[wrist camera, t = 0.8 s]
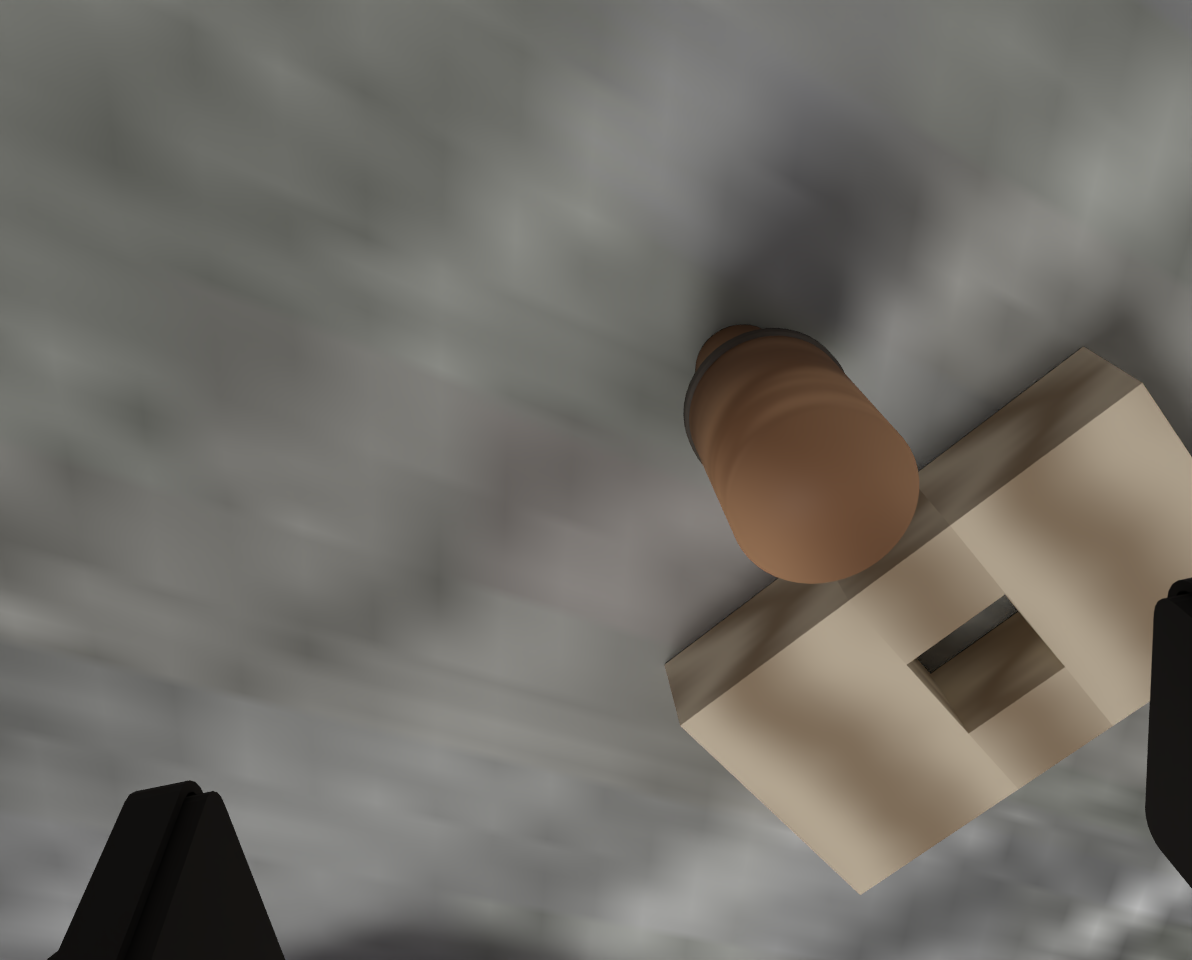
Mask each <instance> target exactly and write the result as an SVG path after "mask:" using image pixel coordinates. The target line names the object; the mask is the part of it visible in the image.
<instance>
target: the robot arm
mask: <svg viewBox="0 0 1192 960" xmlns="http://www.w3.org/2000/svg"><path fill="white" fill-rule="evenodd" d="M1145 812H1146V819H1147V823H1148V827H1149V829H1150V832H1151V835H1152V837H1153V839H1154V841H1155V843H1156V844H1157V846H1158V847H1159V849H1160V850H1161V851H1162V852H1163V854H1164V855H1165V856H1166V857H1167V859H1168V860H1169V861H1170V862H1171V864H1172V865H1173V866H1174V867H1175V868H1176V870H1177V871H1178V872H1179V873H1180V875H1181V876H1182V877H1183V878H1184V879H1185V881H1186V882H1187V883H1188V884H1189V886H1190V887H1191V888H1192V577H1191V578H1187V579H1182V580H1178V581H1176V582H1174V583H1173V584H1172V585H1171V587H1170V589H1169V591H1168V596H1167V598H1162V599H1161V600H1159V601H1158V602H1157V604H1156V605H1155V609H1154V617H1153V640H1152V664H1151V687H1150V710H1149V733H1148V756H1147V779H1146V802H1145ZM47 960H285V958H284V955H283V953H282V950H281V948H280V945H279V942H278V940H277V937H276V935H275V932H274V930H273V927H272V925H271V922H270V919H269V917H268V914H267V912H266V909H265V907H264V904H263V901H262V899H261V896H260V894H259V891H258V889H257V886H256V884H255V881H254V878H253V876H252V873H251V871H250V868H249V866H248V863H247V860H246V858H245V855H244V853H243V850H242V848H241V845H240V843H239V840H238V837H237V835H236V832H235V830H234V827H233V825H232V822H231V819H230V817H229V814H228V812H227V809H226V807H225V804H224V802H223V800H222V798H221V796H220V795H219V794H218V793H217V792H214V791H211V792H206V793H203V792H202V790H201V788H200V786H199V785H198V784H197V783H196V782H194V781H190V780H189V781H185V782H180V783H175V784H170V785H165V786H160V787H155V788H150V789H145V790H140V791H135V792H133V793H132V794H130V795H129V796H128V798H127V799H126V801H125V803H124V805H123V807H122V809H121V812H120V814H119V816H118V818H117V821H116V823H115V825H114V827H113V830H112V832H111V834H110V836H109V838H108V841H107V843H106V845H105V847H104V850H103V852H102V854H101V856H100V859H99V861H98V863H97V865H96V868H95V870H94V872H93V874H92V876H91V879H90V881H89V883H88V885H87V888H86V890H85V892H84V894H83V897H82V899H81V901H80V903H79V906H78V908H77V910H76V912H75V915H74V917H73V919H72V921H71V923H70V926H69V928H68V930H67V932H66V935H65V937H64V939H63V941H62V944H61V946H60V948H59V950H58V951H57V952H56V953H55V954H53V955H52V956H51V957H49V958H48V959H47Z"/></svg>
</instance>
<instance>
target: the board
mask: <svg viewBox="0 0 1192 960" xmlns="http://www.w3.org/2000/svg"><path fill="white" fill-rule="evenodd" d="M918 474H919V496H918V503H917V506H916V510H915V513H914V516H913V518H912V520H911V522H910V525H909V526H908V528H907V530H906V531H905V533H904V535H903V536H902V537H901V539H900V540H899V541H898V543H897V544H896V545H895V546H894V547H893V548H892V549H891V550H890V551H889V553H888V554H886V555H885V556H884V557H883V558H882V559H880V560H879V561H878V562H876V563H875V564H873V565H872V566H870V567H869V568H867V569H865V570H863V571H861V572H859V573H858V574H855V575H853V576H850V577H848V578H845V579H841V580H837V581H834V582H827V583H817V584H806V583H796V582H792V581H787V580H784V579H781V578H778V579H777V580H775V581H774V582H773V583H771V584H770V585H769V586H767V587H766V588H765V589H764V590H762V591H761V592H760V593H758V594H757V595H756V596H754V597H753V598H752V599H750V600H749V601H748V602H746V603H745V604H744V605H742V606H741V607H740V608H739V609H737V610H736V611H735V612H733V613H732V614H731V615H729V616H728V617H727V618H725V619H724V620H723V621H721V622H720V623H719V624H717V625H716V626H715V627H714V628H712V629H711V630H710V631H708V632H707V633H706V634H704V635H703V636H702V637H700V638H699V639H698V640H696V641H695V642H694V643H692V644H691V645H690V646H688V647H687V648H686V649H685V650H683V651H682V652H681V653H679V654H678V655H677V656H675V657H674V658H673V659H671V660H670V661H669V662H667V663H666V664H665V668H666V672H667V676H668V680H669V684H670V688H671V692H672V695H673V699H674V703H675V707H676V711H677V715H678V719H679V723H680V726H681V727H682V728H683V729H684V730H685V731H686V732H688V733H689V734H690V735H691V736H692V737H693V738H694V739H695V740H696V741H697V742H698V743H699V744H700V745H701V746H702V747H704V748H705V749H706V750H707V751H708V752H709V753H710V754H711V755H712V756H713V757H714V758H715V759H716V760H717V761H718V762H719V763H721V764H722V765H723V766H724V767H725V768H726V769H727V770H728V771H729V772H730V773H731V774H732V775H733V776H734V777H735V778H736V779H738V780H739V781H740V782H741V783H742V784H743V785H744V786H745V787H746V788H747V789H748V790H749V791H750V792H751V793H752V794H753V795H755V796H756V797H757V798H758V799H759V800H760V801H761V802H762V803H763V804H764V805H765V806H766V807H767V808H768V809H769V810H770V811H772V812H773V813H774V814H775V815H776V816H777V817H778V818H779V819H780V820H781V821H782V822H783V823H784V824H785V825H786V826H788V827H789V828H790V829H791V830H792V831H793V832H794V833H795V834H796V835H797V836H798V837H799V838H800V839H801V840H802V841H803V842H805V843H806V844H807V845H808V846H809V847H810V848H811V849H812V850H813V851H814V852H815V853H816V854H817V855H818V856H819V857H820V858H822V859H823V860H824V861H825V862H826V863H827V864H828V865H829V866H830V867H831V868H832V869H833V870H834V871H835V872H836V873H837V874H839V875H840V876H841V877H842V878H843V879H844V880H845V881H846V882H847V883H848V884H849V885H850V886H851V887H852V888H853V889H855V890H856V891H857V892H858V893H859V894H860V895H861V894H863V893H864V892H866V891H867V890H869V889H870V888H872V887H873V886H875V885H876V884H877V883H879V882H880V881H882V880H883V879H885V878H886V877H888V876H889V875H891V874H892V873H894V872H895V871H897V870H898V869H900V868H901V867H903V866H904V865H906V864H907V863H909V862H910V861H912V860H913V859H915V858H916V857H918V856H919V855H921V854H922V853H924V852H925V851H927V850H928V849H930V848H931V847H933V846H934V845H936V844H937V843H939V842H940V841H942V840H943V839H945V838H946V837H948V836H949V835H951V834H952V833H954V832H955V831H957V830H958V829H960V828H961V827H963V826H964V825H966V824H967V823H969V822H970V821H972V820H973V819H975V818H976V817H978V816H979V815H981V814H982V813H984V812H985V811H987V810H988V809H990V808H991V807H992V806H994V805H995V804H997V803H998V802H1000V801H1001V800H1003V799H1004V798H1006V797H1007V796H1009V795H1010V794H1012V793H1013V792H1015V791H1016V790H1018V789H1019V788H1021V787H1022V786H1024V785H1025V784H1027V783H1028V782H1030V781H1031V780H1033V779H1034V778H1036V777H1037V776H1039V775H1040V774H1042V773H1043V772H1045V771H1046V770H1048V769H1049V768H1051V767H1052V766H1054V765H1055V764H1057V763H1058V762H1060V761H1061V760H1063V759H1064V758H1066V757H1067V756H1069V755H1070V754H1072V753H1073V752H1075V751H1076V750H1078V749H1079V748H1081V747H1082V746H1084V745H1085V744H1087V743H1088V742H1090V741H1091V740H1093V739H1094V738H1096V737H1097V736H1099V735H1100V734H1102V733H1103V732H1105V731H1106V730H1107V729H1109V728H1110V727H1112V726H1113V725H1115V724H1116V723H1118V722H1119V721H1121V720H1122V719H1124V718H1125V717H1127V716H1128V715H1130V714H1131V713H1133V712H1134V711H1136V710H1137V709H1139V708H1140V707H1142V706H1143V705H1145V704H1146V703H1148V702H1149V701H1150V687H1151V664H1152V640H1153V617H1154V609H1155V605H1156V604H1157V602H1158V601H1159V600H1161V599H1162V598H1167V596H1168V591H1169V589H1170V587H1171V585H1172V584H1173V583H1174V582H1176V581H1178V580H1182V579H1187V578H1191V577H1192V457H1191V455H1190V454H1189V452H1188V451H1187V449H1186V448H1185V446H1184V445H1183V443H1182V442H1181V440H1180V439H1179V437H1178V436H1177V434H1176V433H1175V431H1174V430H1173V428H1172V427H1171V425H1170V424H1169V422H1168V421H1167V419H1166V418H1165V416H1164V415H1163V413H1162V412H1161V410H1160V409H1159V407H1158V406H1157V404H1156V403H1155V401H1154V400H1153V398H1152V397H1151V395H1150V394H1149V392H1148V390H1147V389H1146V387H1145V386H1144V384H1143V383H1142V382H1140V381H1139V380H1137V379H1135V378H1134V377H1132V376H1130V375H1129V374H1127V373H1126V372H1124V371H1122V370H1121V369H1119V368H1118V367H1116V366H1114V365H1113V364H1111V363H1109V362H1108V361H1106V360H1105V359H1103V358H1101V357H1100V356H1098V355H1097V354H1095V353H1093V352H1092V351H1090V350H1088V349H1087V348H1085V347H1084V346H1083V347H1082V348H1081V349H1079V350H1078V351H1077V352H1075V353H1074V354H1073V355H1072V356H1070V357H1069V358H1068V359H1066V360H1065V361H1064V362H1062V363H1061V364H1060V365H1058V366H1057V367H1056V368H1054V369H1053V370H1052V371H1050V372H1049V373H1048V374H1047V375H1045V376H1044V377H1043V378H1041V379H1040V380H1039V381H1037V382H1036V383H1035V384H1033V385H1032V386H1031V387H1029V388H1028V389H1027V390H1025V391H1024V392H1023V393H1022V394H1020V395H1019V396H1018V397H1016V398H1015V399H1014V400H1012V401H1011V402H1010V403H1008V404H1007V405H1006V406H1004V407H1003V408H1002V409H1000V410H999V411H998V412H997V413H995V414H994V415H993V416H991V417H990V418H989V419H987V420H986V421H985V422H983V423H982V424H981V425H979V426H978V427H977V428H975V429H974V430H973V431H972V432H970V433H969V434H968V435H966V436H965V437H964V438H962V439H961V440H960V441H958V442H957V443H956V444H954V445H953V446H952V447H950V448H949V449H948V450H946V451H945V452H944V453H943V454H941V455H940V456H939V457H937V458H936V459H935V460H933V461H932V462H931V463H929V464H928V465H927V466H925V467H924V468H923V469H921V470H920V471H919V472H918ZM1003 595H1006V597H1007V598H1008V599H1009V600H1010V602H1011V603H1012V604H1013V605H1014V606H1015V608H1016V609H1017V610H1018V611H1019V612H1017V613H1016V614H1014V615H1013V616H1011V617H1010V618H1009V619H1007V620H1006V621H1004V622H1003V623H1002V624H1000V625H999V626H997V627H996V628H995V629H993V630H992V631H990V632H989V633H988V634H986V635H985V636H983V637H982V638H980V639H979V640H978V641H976V642H975V643H973V644H972V645H971V646H969V647H968V648H966V649H965V650H964V651H962V652H961V653H959V654H958V655H957V656H955V657H954V658H952V659H951V660H950V661H948V662H947V663H945V664H944V665H942V666H941V667H940V668H938V669H937V670H935V671H934V672H933V673H931V674H930V673H929V672H928V671H927V669H926V668H925V667H924V666H923V665H922V664H921V663H920V662H919V660H918V659H917V657H918V656H920V655H921V654H922V653H924V652H925V651H926V650H928V649H929V648H931V647H932V646H933V645H935V644H936V643H938V642H939V641H940V640H942V639H943V638H945V637H946V636H947V635H949V634H950V633H952V632H953V631H954V630H956V629H957V628H959V627H960V626H961V625H963V624H964V623H966V622H967V621H968V620H970V619H971V618H973V617H974V616H975V615H977V614H978V613H980V612H981V611H982V610H984V609H985V608H987V607H988V606H989V605H991V604H992V603H993V602H995V601H996V600H998V599H999V598H1000V597H1002V596H1003Z"/></svg>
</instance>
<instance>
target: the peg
mask: <svg viewBox="0 0 1192 960" xmlns="http://www.w3.org/2000/svg"><path fill="white" fill-rule="evenodd" d="M684 425H685V429H686V434H687V437H688V439H689V442H690V444H691V446H692V449H693V451H694V452H695V454H696V456H697V458H698V459H699V460H700V462H701V463H702V464H703V466H704V468H705V470H706V473H707V475H708V477H709V480H710V482H711V484H712V486H713V489H714V491H715V493H716V495H717V498H718V500H719V502H720V504H721V507H722V509H723V511H724V513H725V516H726V518H727V520H728V522H729V525H730V527H731V529H732V531H733V534H734V536H735V538H736V540H737V542H738V544H739V546H740V547H741V549H742V550H743V552H744V553H745V554H746V555H747V557H748V558H749V559H750V560H751V561H752V562H753V563H754V564H756V565H757V566H758V567H760V568H761V569H762V570H764V571H765V572H767V573H769V574H771V575H773V576H775V577H778V578H781V579H784V580H787V581H792V582H796V583H806V584H817V583H827V582H834V581H837V580H841V579H845V578H848V577H850V576H853V575H855V574H858V573H859V572H861V571H863V570H865V569H867V568H869V567H870V566H872V565H873V564H875V563H876V562H878V561H879V560H880V559H882V558H883V557H884V556H885V555H886V554H888V553H889V551H890V550H891V549H892V548H893V547H894V546H895V545H896V544H897V543H898V541H899V540H900V539H901V537H902V536H903V535H904V533H905V531H906V530H907V528H908V526H909V525H910V522H911V520H912V518H913V516H914V513H915V510H916V506H917V503H918V496H919V474H918V468H917V464H916V461H915V458H914V456H913V454H912V451H911V449H910V447H909V446H908V444H907V443H906V442H905V440H904V439H903V438H902V436H901V435H900V434H899V433H898V432H897V431H896V430H895V429H894V428H893V426H892V425H891V424H890V423H889V422H888V421H887V420H886V419H885V418H884V416H883V415H882V414H881V413H880V412H879V411H878V410H877V409H876V408H875V407H874V405H873V404H872V403H871V402H870V401H869V400H868V399H867V398H866V397H865V395H864V394H863V393H862V392H861V391H860V390H859V389H858V388H857V387H856V386H855V384H854V383H853V382H852V381H851V380H850V379H849V378H848V377H847V376H846V374H845V373H844V371H843V369H842V367H841V365H840V364H839V363H838V361H837V360H836V359H835V357H834V356H833V355H832V354H831V353H830V352H829V351H828V350H827V349H826V348H825V347H824V346H823V345H822V344H820V343H819V342H818V341H816V340H815V339H813V338H811V337H809V336H807V335H805V334H802V333H800V332H797V331H793V330H789V329H781V328H765V329H761V328H759V327H756V326H752V325H734V326H730V327H727V328H724V329H722V330H720V331H719V332H717V333H715V334H714V335H713V336H712V337H711V338H709V339H708V340H707V342H706V343H705V344H704V346H703V347H702V349H701V350H700V353H699V355H698V358H697V361H696V369H695V374H694V376H693V378H692V380H691V382H690V384H689V387H688V390H687V393H686V397H685V402H684Z"/></svg>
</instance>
